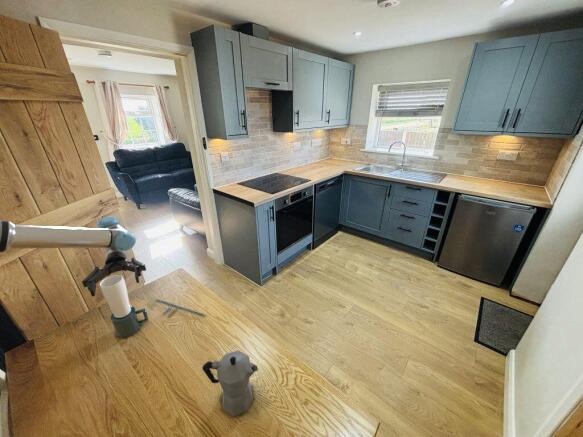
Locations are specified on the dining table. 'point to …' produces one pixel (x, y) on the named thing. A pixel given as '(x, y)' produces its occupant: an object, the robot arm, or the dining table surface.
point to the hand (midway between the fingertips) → (115, 286)
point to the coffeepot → (233, 380)
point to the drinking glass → (116, 295)
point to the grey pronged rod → (177, 306)
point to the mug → (128, 323)
